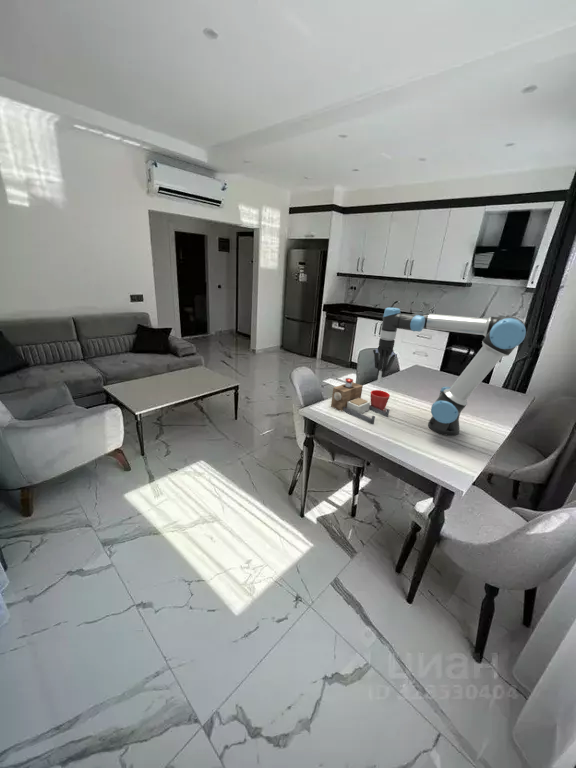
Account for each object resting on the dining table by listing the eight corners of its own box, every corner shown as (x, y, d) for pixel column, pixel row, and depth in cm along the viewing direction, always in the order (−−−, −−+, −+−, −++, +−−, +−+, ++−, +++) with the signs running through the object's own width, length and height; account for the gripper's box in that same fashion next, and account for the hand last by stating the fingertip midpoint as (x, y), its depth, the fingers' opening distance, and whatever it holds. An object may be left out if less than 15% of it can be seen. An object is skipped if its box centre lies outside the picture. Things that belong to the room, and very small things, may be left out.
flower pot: (382, 414, 180) (386, 398, 177) (365, 408, 186) (367, 393, 183) (389, 408, 188) (392, 393, 185) (372, 403, 194) (375, 388, 191)
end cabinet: (359, 404, 191) (362, 385, 187) (341, 411, 179) (344, 392, 175) (349, 399, 197) (351, 381, 192) (330, 406, 184) (332, 387, 180)
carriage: (368, 410, 183) (370, 401, 181) (357, 414, 176) (359, 405, 174) (357, 405, 188) (358, 396, 186) (346, 409, 181) (347, 400, 179)
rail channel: (388, 416, 177) (389, 409, 176) (372, 424, 167) (373, 417, 165) (358, 404, 191) (359, 397, 189) (342, 410, 180) (343, 403, 178)
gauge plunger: (352, 392, 185) (354, 379, 182) (348, 394, 182) (350, 381, 179) (346, 390, 188) (348, 377, 185) (342, 391, 185) (344, 379, 182)
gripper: (402, 340, 158) (394, 384, 166) (380, 335, 167) (373, 377, 175) (395, 342, 153) (387, 387, 161) (372, 337, 162) (365, 379, 170)
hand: (379, 382), depth 168 cm, fingers closed
